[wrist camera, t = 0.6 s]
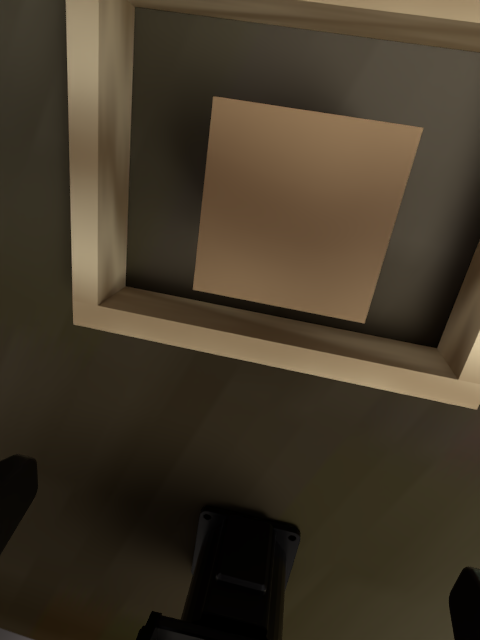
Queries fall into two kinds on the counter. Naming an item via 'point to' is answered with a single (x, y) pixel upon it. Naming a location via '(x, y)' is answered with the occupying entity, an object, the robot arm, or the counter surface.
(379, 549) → the counter surface
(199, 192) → the counter surface
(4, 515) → the robot arm
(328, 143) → the walnut block
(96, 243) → the beige flat rectangular frame
